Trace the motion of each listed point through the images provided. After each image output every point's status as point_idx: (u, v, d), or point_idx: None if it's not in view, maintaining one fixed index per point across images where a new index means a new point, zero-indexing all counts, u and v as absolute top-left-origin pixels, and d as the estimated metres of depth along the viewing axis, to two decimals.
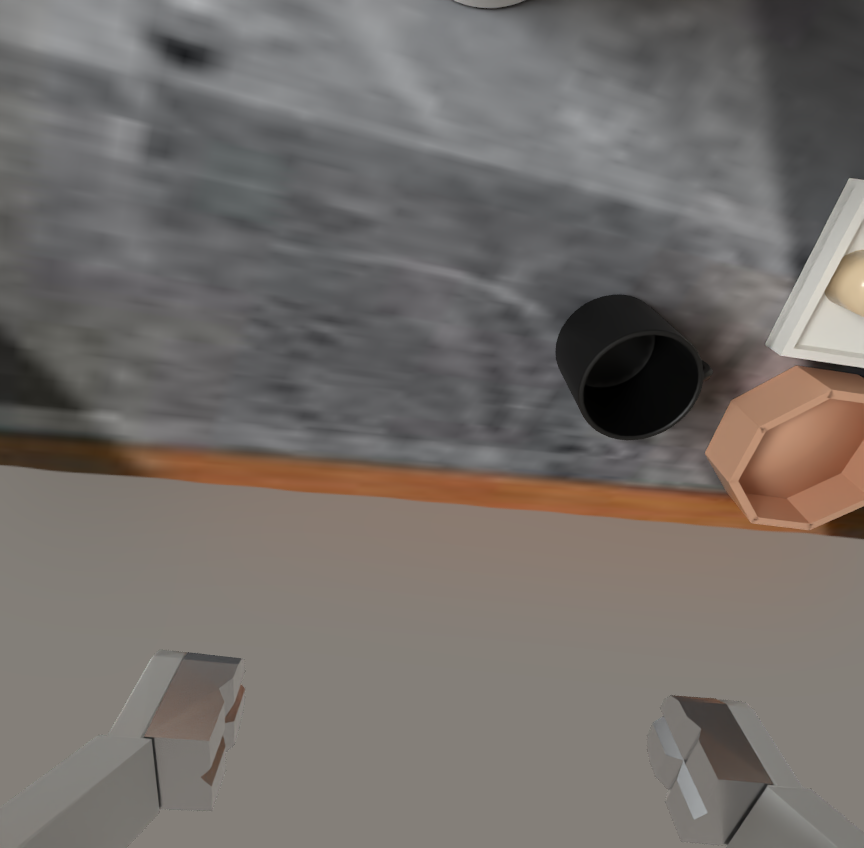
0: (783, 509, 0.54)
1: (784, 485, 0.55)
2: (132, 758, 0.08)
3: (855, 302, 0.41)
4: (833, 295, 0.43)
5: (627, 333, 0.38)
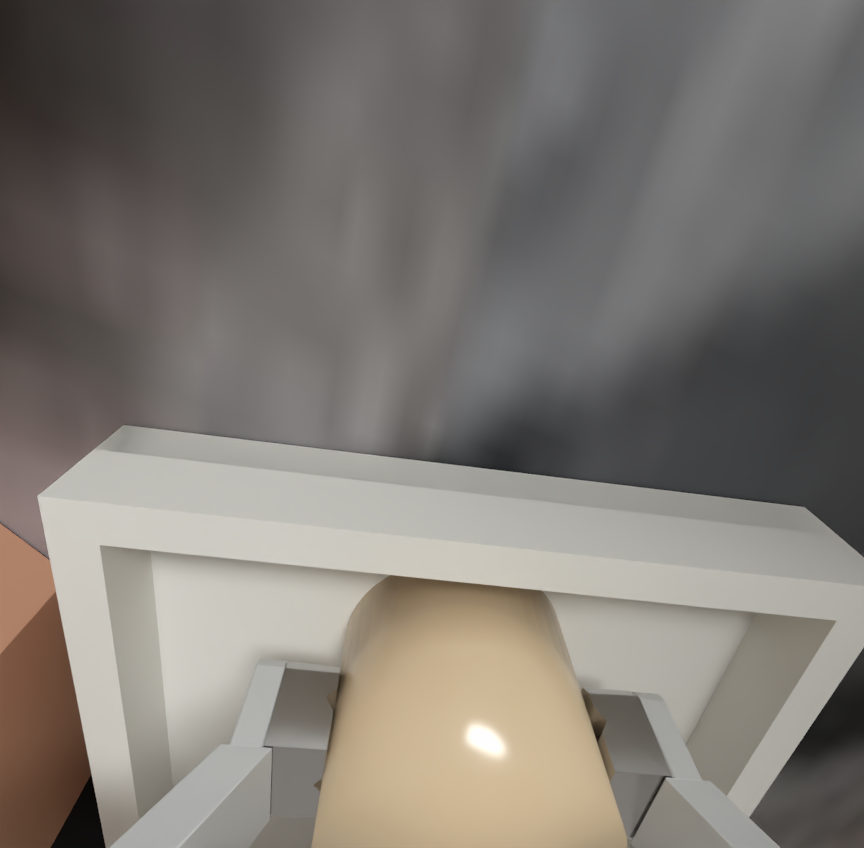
0: None
1: None
2: (255, 767, 0.08)
3: (404, 759, 0.07)
4: (394, 616, 0.09)
5: None
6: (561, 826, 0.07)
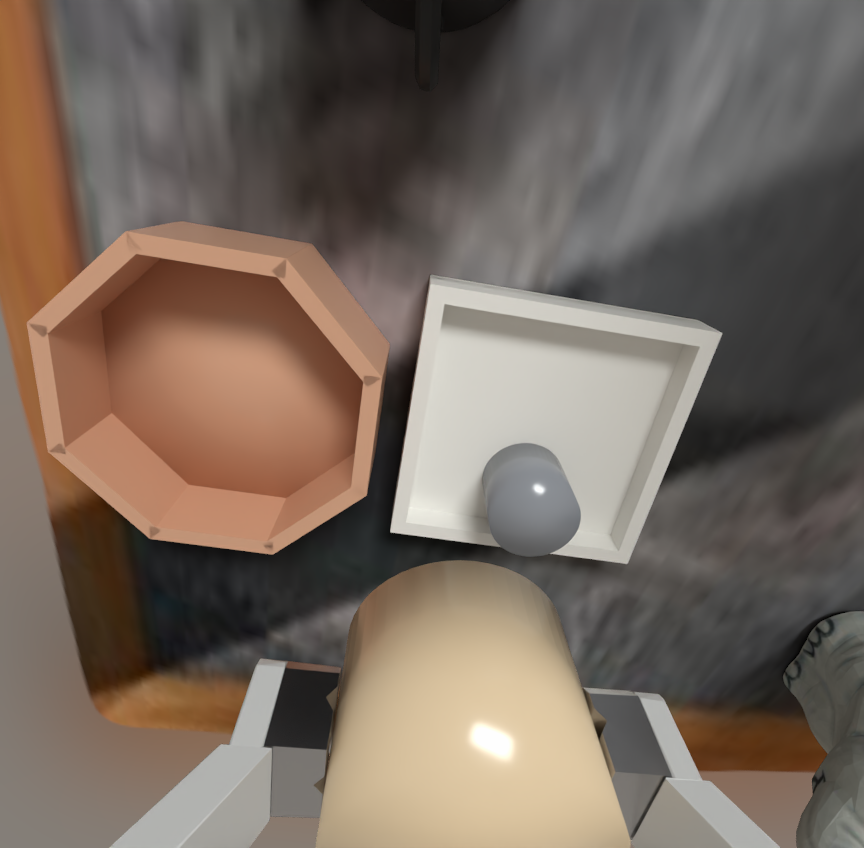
0: (84, 399, 0.26)
1: (140, 400, 0.28)
2: (255, 767, 0.08)
3: (408, 762, 0.07)
4: (397, 618, 0.09)
5: None
6: (565, 830, 0.07)
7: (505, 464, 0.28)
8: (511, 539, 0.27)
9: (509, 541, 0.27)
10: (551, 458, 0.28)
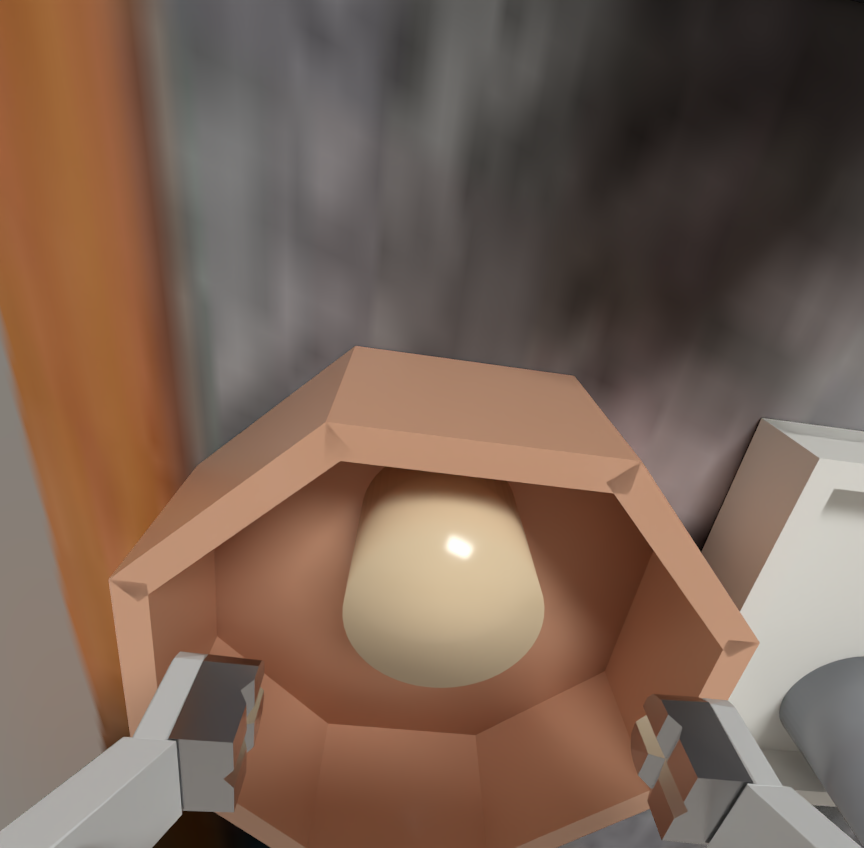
0: (189, 651, 0.15)
1: (265, 617, 0.17)
2: (157, 760, 0.08)
3: (402, 535, 0.11)
4: (396, 478, 0.14)
5: None
6: (500, 586, 0.12)
7: (859, 708, 0.17)
8: None
9: None
10: None
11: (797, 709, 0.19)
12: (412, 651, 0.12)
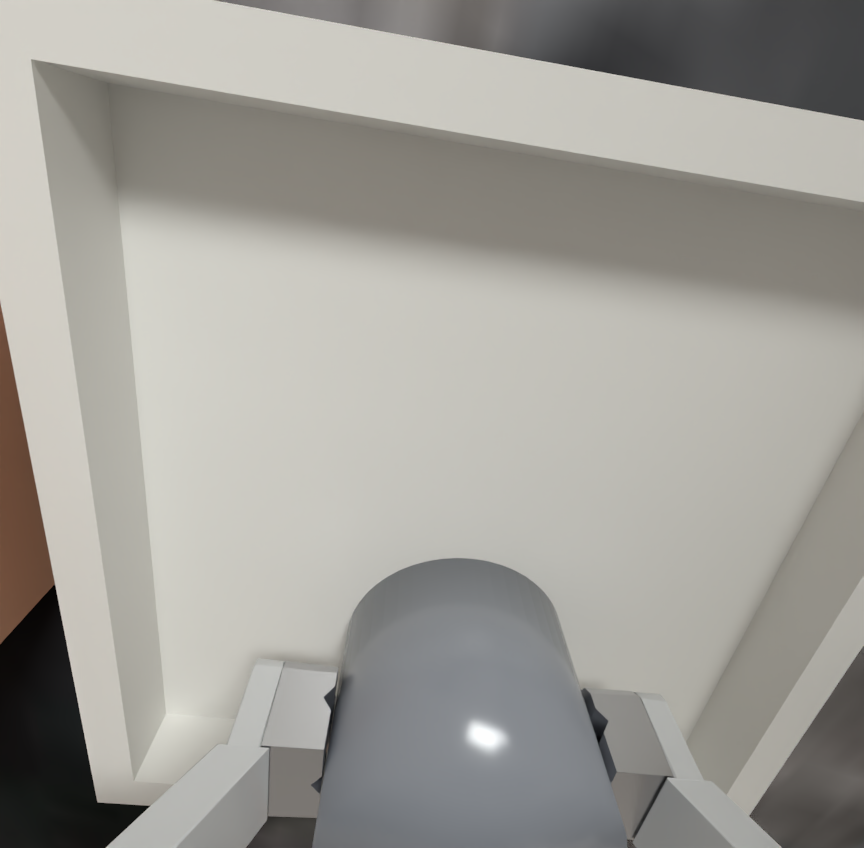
0: None
1: None
2: (252, 767, 0.08)
3: None
4: None
5: None
6: None
7: (383, 643, 0.09)
8: None
9: None
10: (526, 611, 0.10)
11: (343, 654, 0.10)
12: None
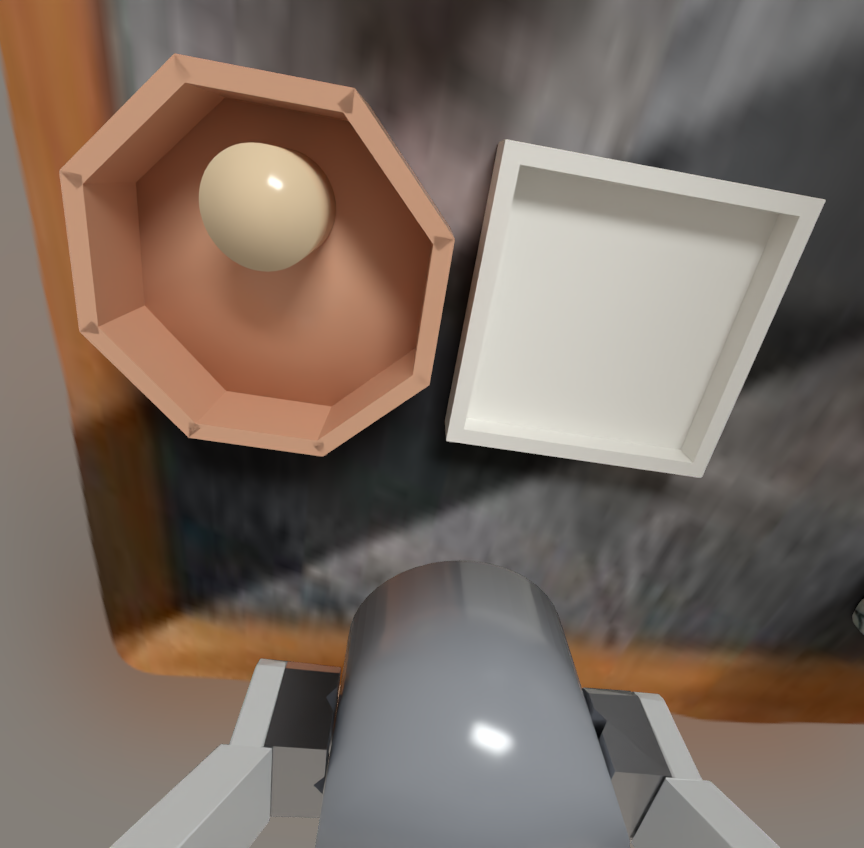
0: (118, 278, 0.23)
1: (176, 289, 0.25)
2: (255, 767, 0.08)
3: (227, 149, 0.19)
4: None
5: None
6: (289, 184, 0.20)
7: (385, 646, 0.09)
8: None
9: None
10: (528, 614, 0.10)
11: (345, 657, 0.10)
12: (245, 239, 0.21)
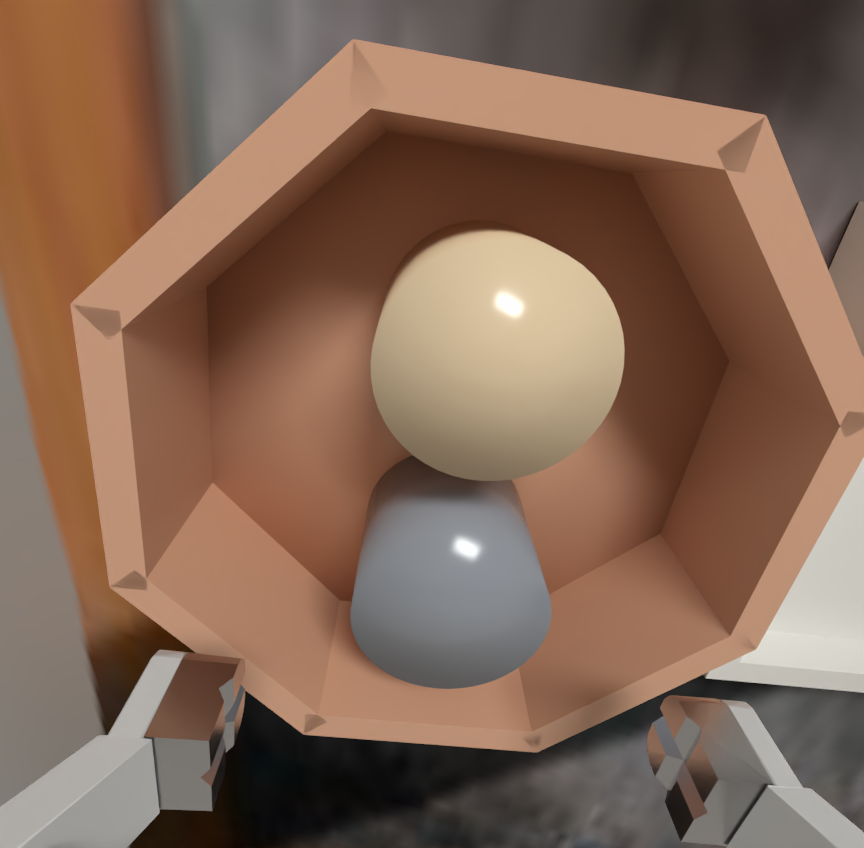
0: (178, 468, 0.12)
1: (268, 458, 0.15)
2: (132, 758, 0.08)
3: (441, 252, 0.09)
4: (425, 244, 0.11)
5: None
6: (568, 321, 0.09)
7: (395, 495, 0.13)
8: (405, 657, 0.13)
9: (400, 660, 0.13)
10: None
11: None
12: (459, 427, 0.10)
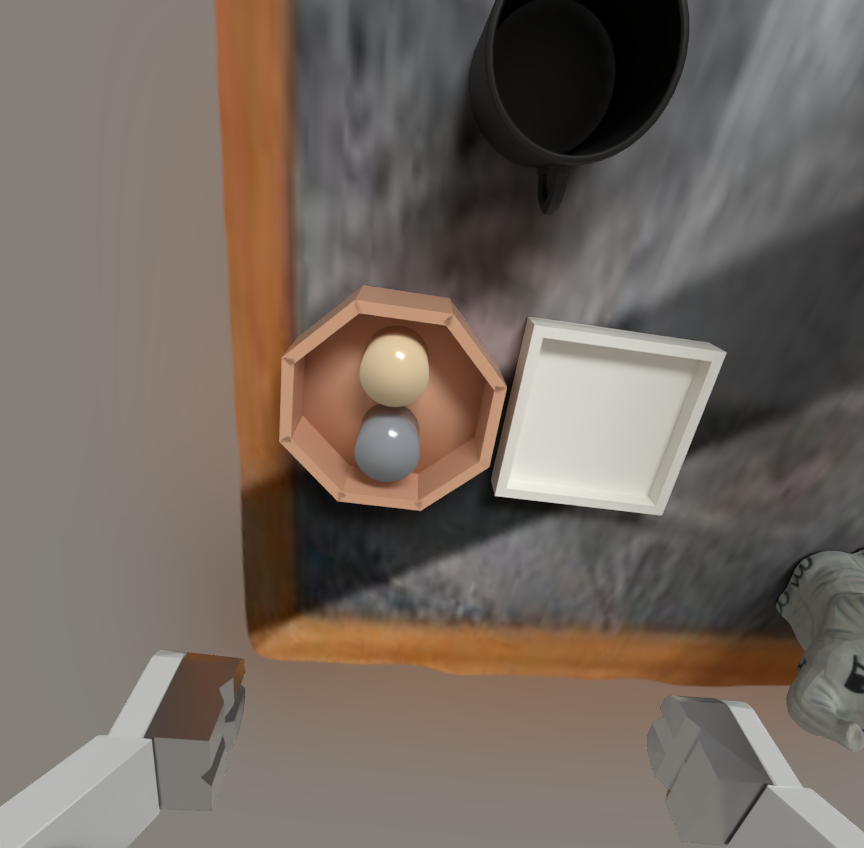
0: (297, 406, 0.38)
1: (324, 406, 0.40)
2: (132, 758, 0.08)
3: (377, 344, 0.34)
4: (376, 335, 0.37)
5: None
6: (412, 361, 0.34)
7: (369, 417, 0.39)
8: (373, 469, 0.38)
9: (371, 470, 0.38)
10: (404, 412, 0.39)
11: None
12: (385, 390, 0.35)
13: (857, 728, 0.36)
